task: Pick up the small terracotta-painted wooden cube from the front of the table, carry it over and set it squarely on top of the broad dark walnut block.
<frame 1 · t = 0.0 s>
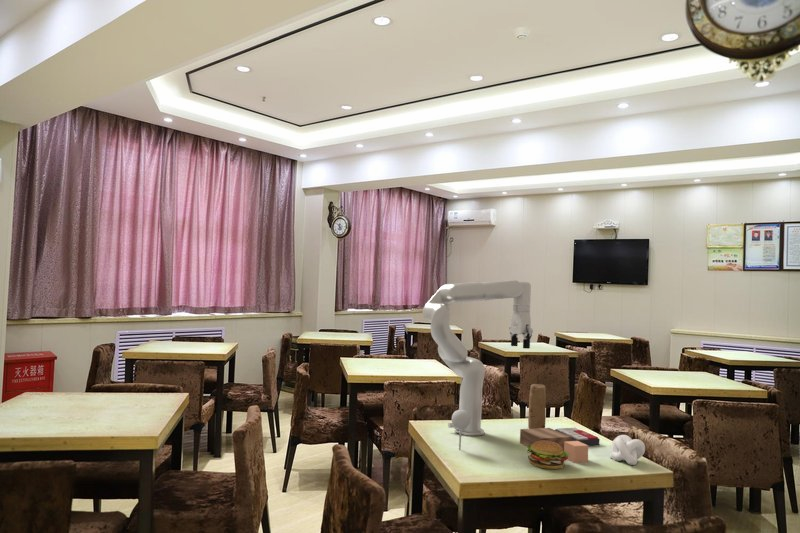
hand: (520, 347, 232), 37 cm above the table, tool pointing down, fingers open, 9 cm apart
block: (536, 429, 234), on the table
calculator: (576, 442, 217), on the table
terracotta cube: (575, 460, 190), on the table
walnut block: (544, 448, 204), on the table
white knot: (624, 461, 191), on the table
lollipop: (459, 450, 195), on the table
food: (547, 465, 183), on the table
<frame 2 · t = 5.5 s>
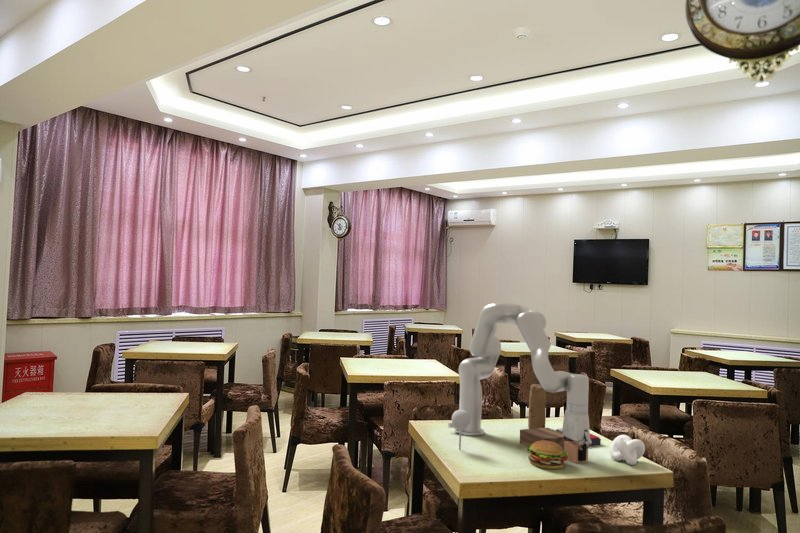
hand: (575, 457, 190), 1 cm above the table, tool pointing down, fingers closed on terracotta cube, 6 cm apart
terracotta cube: (575, 459, 190), on the table, touching gripper
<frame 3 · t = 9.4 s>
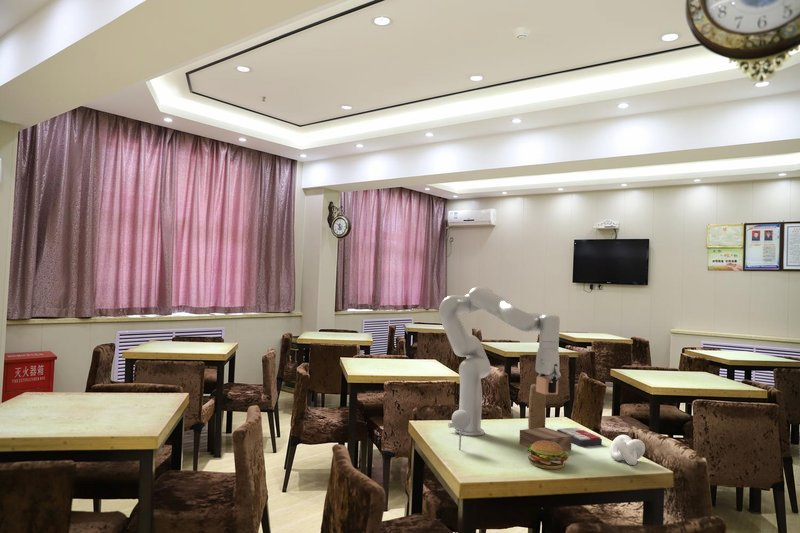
hand: (546, 390, 206), 22 cm above the table, tool pointing down, fingers closed on terracotta cube, 6 cm apart
terracotta cube: (546, 392, 206), point 21 cm above the table, touching gripper
when the fingers open (7 cm above the table, at t = 13.5 s): terracotta cube stays where it is, point 6 cm above the table.
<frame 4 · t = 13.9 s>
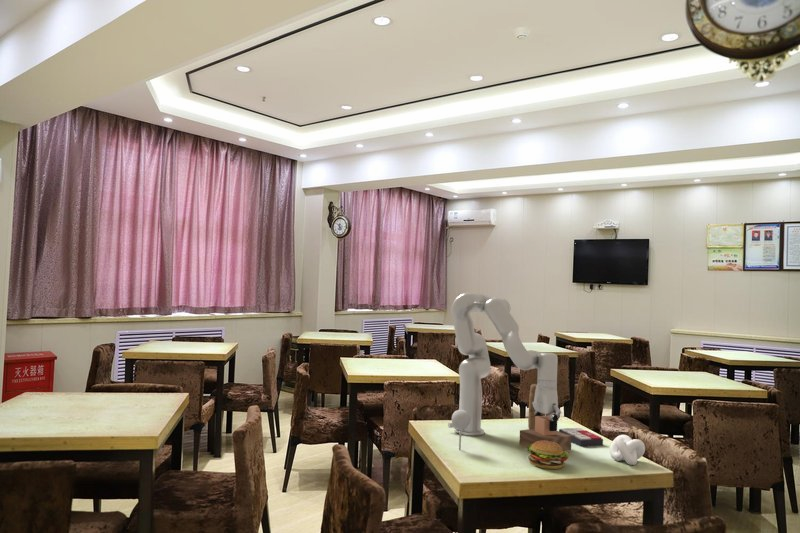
hand: (545, 427, 205), 8 cm above the table, tool pointing down, fingers open, 9 cm apart
terracotta cube: (545, 433, 205), point 6 cm above the table
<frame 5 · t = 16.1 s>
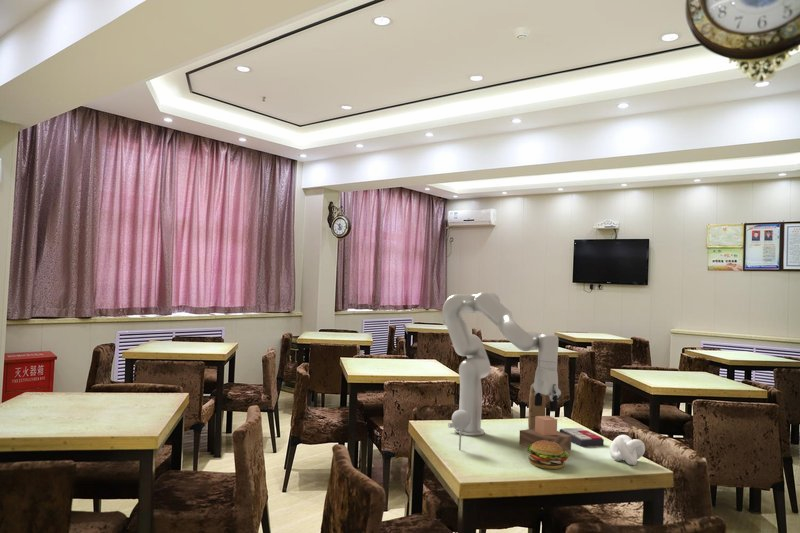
hand: (545, 408, 206), 15 cm above the table, tool pointing down, fingers open, 9 cm apart
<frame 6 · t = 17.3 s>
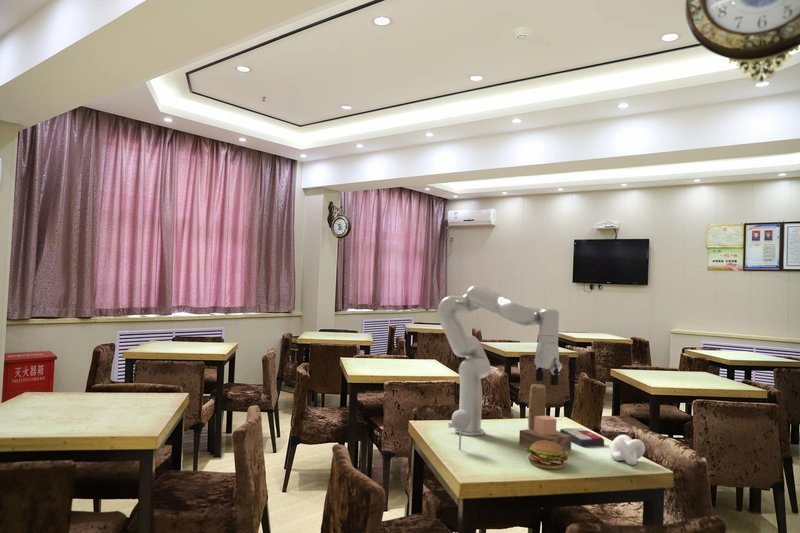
hand: (546, 382, 206), 25 cm above the table, tool pointing down, fingers open, 9 cm apart
terracotta cube: (544, 432, 205), point 6 cm above the table, touching walnut block
walnut block: (544, 448, 204), on the table, touching terracotta cube
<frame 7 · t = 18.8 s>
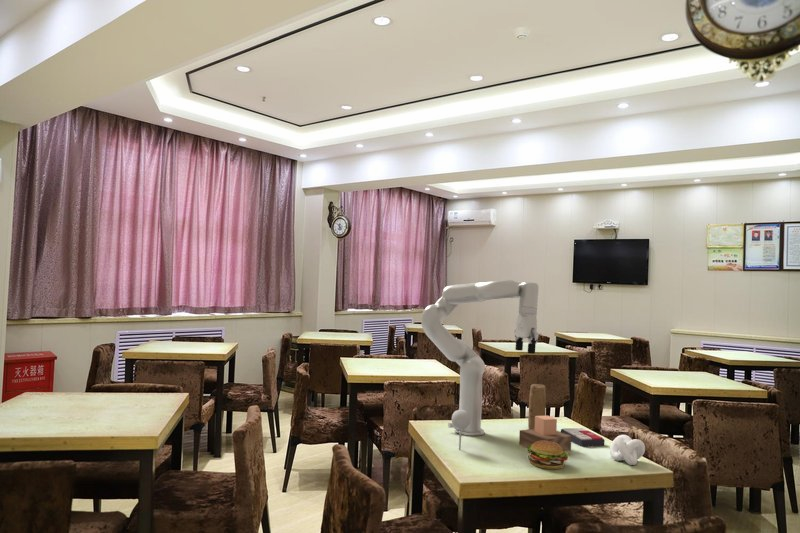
hand: (524, 351, 218), 36 cm above the table, tool pointing down, fingers open, 9 cm apart
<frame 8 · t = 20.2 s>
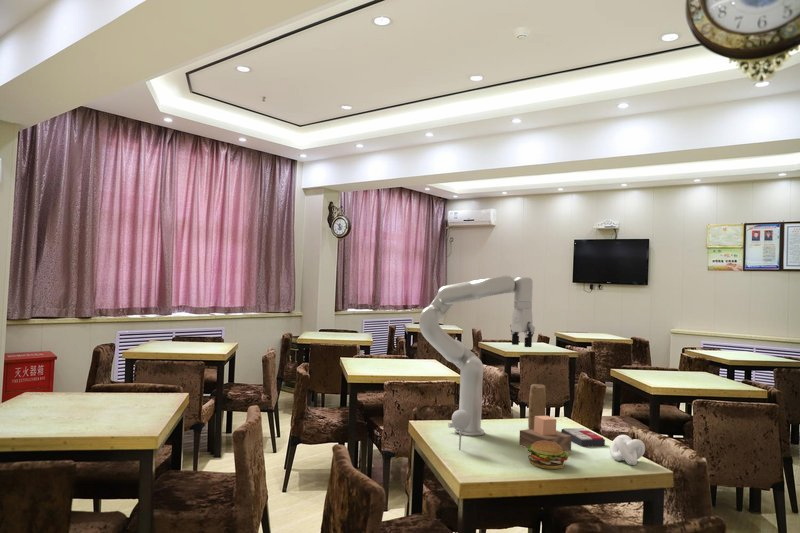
hand: (521, 345, 221), 38 cm above the table, tool pointing down, fingers open, 9 cm apart
at the end: terracotta cube inside the target area on the walnut block (0.1 cm from its centre), point 6.0 cm above the walnut block's base; terracotta cube tilted 0°; the gripper is holding nothing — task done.
